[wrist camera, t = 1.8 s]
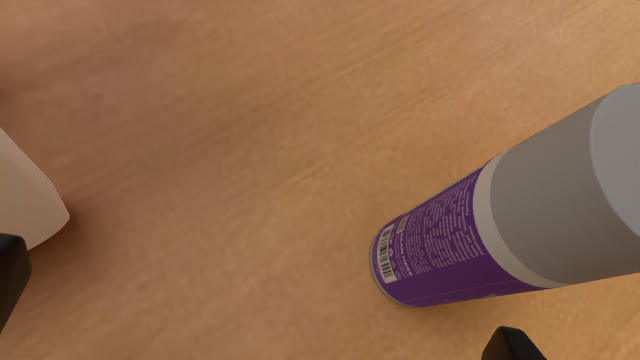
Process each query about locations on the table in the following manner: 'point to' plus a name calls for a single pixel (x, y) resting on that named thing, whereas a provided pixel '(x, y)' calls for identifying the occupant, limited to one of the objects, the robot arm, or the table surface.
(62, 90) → the table surface
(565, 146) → the container
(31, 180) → the cable organizer
